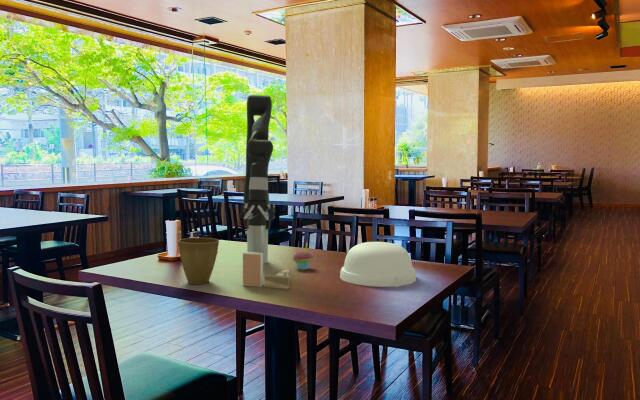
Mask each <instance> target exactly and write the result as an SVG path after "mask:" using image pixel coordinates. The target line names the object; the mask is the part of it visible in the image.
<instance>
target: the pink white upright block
mask: <svg viewBox="0 0 640 400" xmlns="http://www.w3.org/2000/svg"><path fill="white" fill-rule="evenodd" d="M242 286H244V287H245V286H248V287H263V286H264V264H263V253H257V252H247V251H244V252H242Z"/></svg>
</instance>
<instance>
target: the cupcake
mask: <svg viewBox="0 0 640 400" xmlns="http://www.w3.org/2000/svg"><path fill="white" fill-rule="evenodd" d="M308 242H309V241H308V240H307V241H306V243H305V247H304V251H301V252H296V253H295V254H293V258H292V261H293V262H295V264H296V267H297V270H303V271H304V270H305V269H306V270H309V269H310V266H311V263H312V262H313V261H314V256H313V255H312V254H311V253H310V252H307V251H308V250H307V249H308Z"/></svg>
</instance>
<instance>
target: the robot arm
mask: <svg viewBox="0 0 640 400" xmlns="http://www.w3.org/2000/svg"><path fill="white" fill-rule="evenodd" d="M272 109H273V101H272V97H271V96H270V95H266V94H265V95H263V94H249V95H247V98H246V129H247V130H246V147H245V178H244V189H243V202H242V203H241V204H240V210H239V211H240V213H239V217H240V218H241V219H243V220H244V221H243V223H244V224H243V226H244V228H245V229H246V235H247V236H246V237H247V238H246V241H247V242H246V245H247V246H246V248H247V249H246V252H257V253H263V265H264V264H268V262H269V257H268V256H269V244H268V243H269V230H270V228H271V220H274V219H275V218H276V204H275V203H270V195H269V180H268V177H269V176H268V172H269V164H270V160H271V157H272V154H273V150H274V145H273V142H272V141H270V140H269V139H270V138H269V131H270V130H269V128H270V127H269V126H270V122H271V117H272ZM256 116H258V117H259V118H257V119H256V120H255V117H256ZM246 210H247V211H246ZM269 211H270V212H269ZM253 215H254V216H253Z"/></svg>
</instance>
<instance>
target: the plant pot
mask: <svg viewBox="0 0 640 400" xmlns="http://www.w3.org/2000/svg"><path fill="white" fill-rule="evenodd" d="M177 243H178V249H179V256H180V261H181V265H182V269H183V272H184V275H185V277H186V280H187V282H188V284H190V285H205V284H208V283H209V281H210V278H211V276H212V273H213V270H214V267H215V263H216V260H217V256H218V250H219V243H220V240H219V239H217V238H212V237H188V238H180V239H178V242H177Z"/></svg>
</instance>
